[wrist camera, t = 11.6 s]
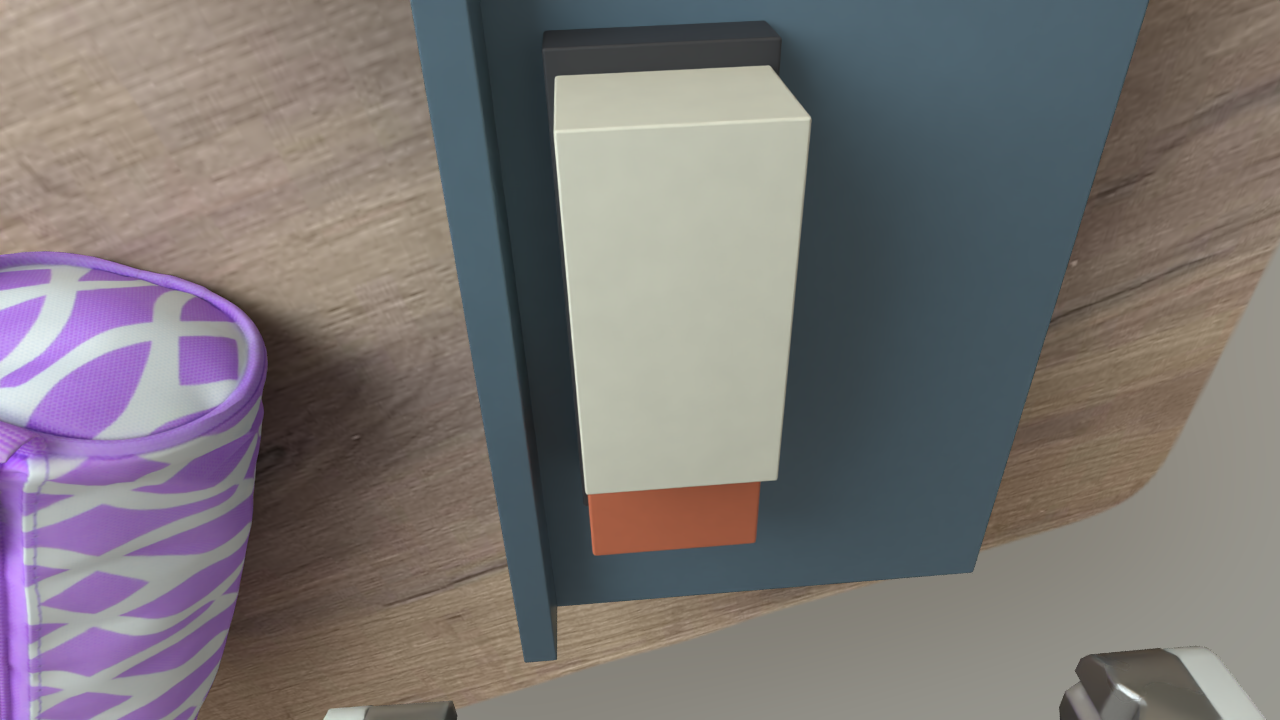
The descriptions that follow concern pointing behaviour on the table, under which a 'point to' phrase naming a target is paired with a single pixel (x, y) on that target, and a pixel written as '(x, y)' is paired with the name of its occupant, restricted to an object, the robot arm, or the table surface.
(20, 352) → the pencil case
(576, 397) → the cream and orange block
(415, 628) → the table surface
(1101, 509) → the table surface
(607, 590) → the grey lipped base tray
